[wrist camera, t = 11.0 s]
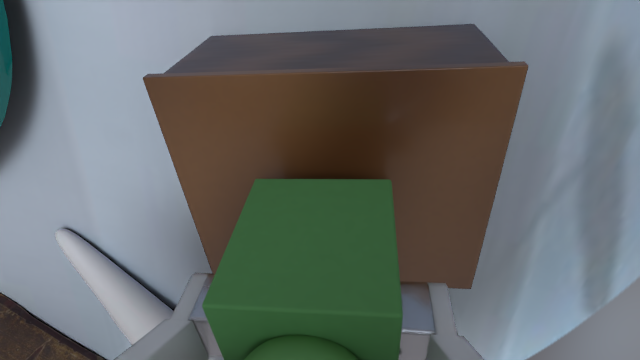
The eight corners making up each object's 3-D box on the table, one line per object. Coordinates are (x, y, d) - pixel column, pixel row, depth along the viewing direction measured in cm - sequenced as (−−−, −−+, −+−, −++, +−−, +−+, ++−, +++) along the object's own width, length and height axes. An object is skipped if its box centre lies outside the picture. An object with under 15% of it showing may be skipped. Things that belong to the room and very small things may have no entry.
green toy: (391, 178, 12) (419, 498, 5) (386, 272, 14) (401, 564, 8) (254, 177, 12) (131, 466, 6) (273, 268, 15) (202, 537, 9)
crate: (480, 18, 16) (529, 65, 11) (448, 205, 22) (471, 289, 17) (204, 31, 17) (141, 77, 13) (246, 202, 23) (213, 278, 19)
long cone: (140, 192, 26) (258, 362, 34) (82, 207, 29) (205, 363, 37) (78, 246, 22) (232, 429, 30) (14, 259, 24) (172, 424, 32)
